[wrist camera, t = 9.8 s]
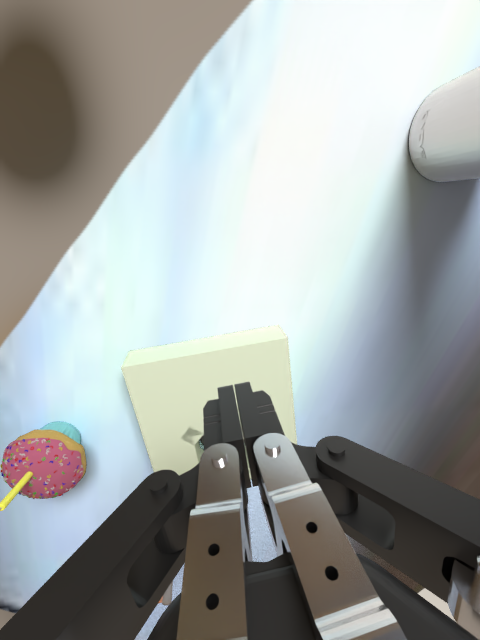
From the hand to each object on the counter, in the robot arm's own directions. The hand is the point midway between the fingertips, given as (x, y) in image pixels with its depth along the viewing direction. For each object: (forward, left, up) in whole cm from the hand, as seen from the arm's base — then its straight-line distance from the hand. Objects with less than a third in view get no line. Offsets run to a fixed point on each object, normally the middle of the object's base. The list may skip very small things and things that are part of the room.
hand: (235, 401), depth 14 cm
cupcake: (+22, +16, -22) cm, 35 cm away
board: (+3, +15, -22) cm, 27 cm away
